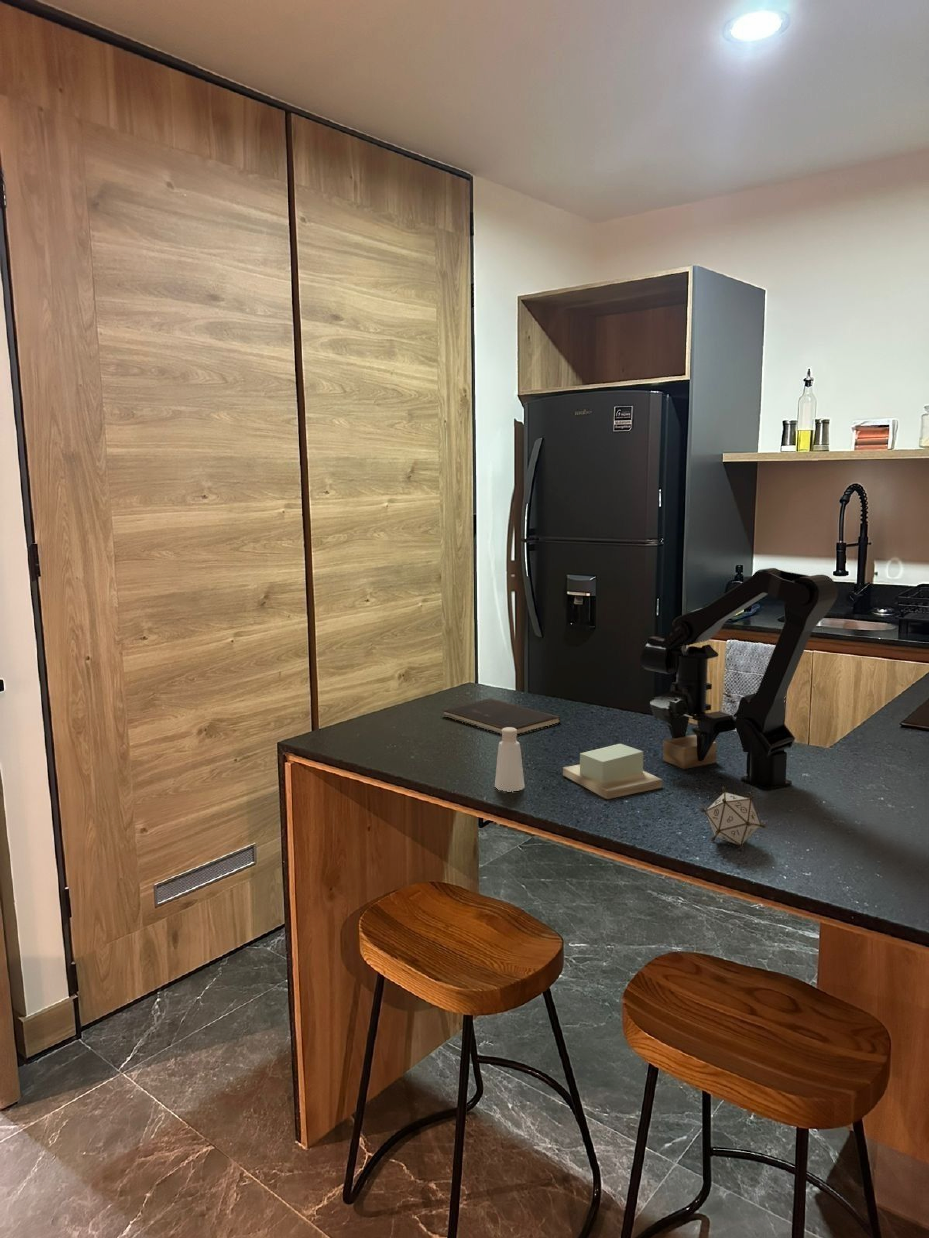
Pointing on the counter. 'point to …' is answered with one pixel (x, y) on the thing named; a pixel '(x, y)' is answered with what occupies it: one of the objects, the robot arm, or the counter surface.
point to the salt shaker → (509, 762)
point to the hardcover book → (501, 715)
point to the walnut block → (686, 752)
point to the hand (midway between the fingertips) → (689, 756)
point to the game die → (732, 818)
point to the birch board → (614, 783)
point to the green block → (611, 763)
